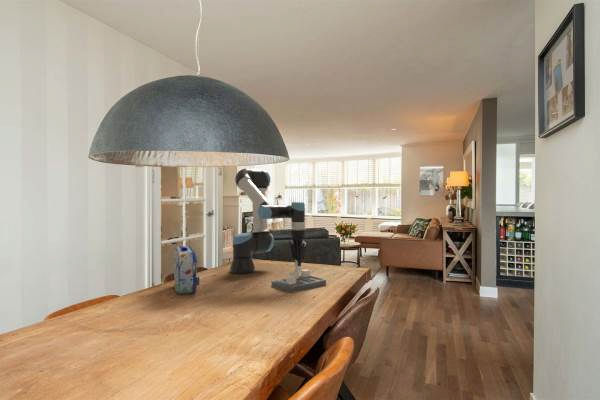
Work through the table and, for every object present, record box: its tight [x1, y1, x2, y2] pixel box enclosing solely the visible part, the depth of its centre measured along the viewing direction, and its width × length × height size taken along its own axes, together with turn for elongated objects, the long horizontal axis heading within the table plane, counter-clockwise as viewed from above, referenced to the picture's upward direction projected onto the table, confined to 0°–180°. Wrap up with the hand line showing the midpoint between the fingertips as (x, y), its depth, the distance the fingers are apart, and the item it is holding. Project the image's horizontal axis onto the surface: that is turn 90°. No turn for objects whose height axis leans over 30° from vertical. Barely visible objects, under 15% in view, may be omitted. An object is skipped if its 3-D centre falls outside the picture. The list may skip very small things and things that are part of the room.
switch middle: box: [289, 270, 300, 279], centre depth 185 cm, size 3×4×4 cm
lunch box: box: [173, 245, 201, 295], centre depth 172 cm, size 28×10×22 cm, turn 25°
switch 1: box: [285, 275, 296, 285], centre depth 175 cm, size 3×4×4 cm
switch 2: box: [300, 268, 311, 277], centre depth 191 cm, size 3×4×4 cm
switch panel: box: [271, 275, 327, 293], centre depth 182 cm, size 16×24×3 cm, turn 131°
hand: (297, 271), depth 195 cm, fingers closed
